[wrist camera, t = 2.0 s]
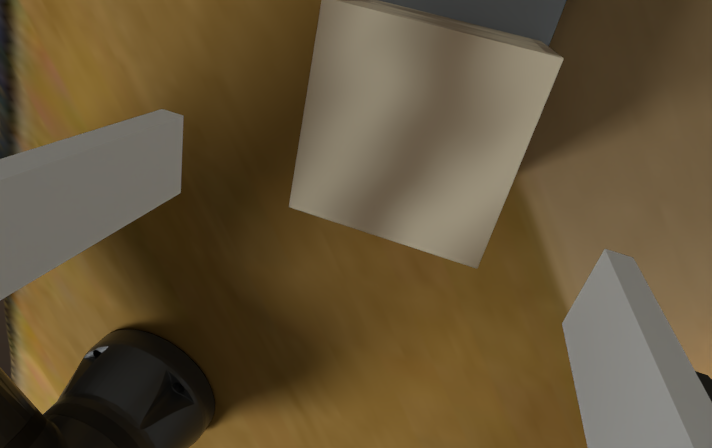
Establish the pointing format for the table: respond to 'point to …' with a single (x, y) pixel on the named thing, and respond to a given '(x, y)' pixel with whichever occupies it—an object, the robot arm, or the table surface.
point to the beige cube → (417, 124)
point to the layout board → (498, 14)
